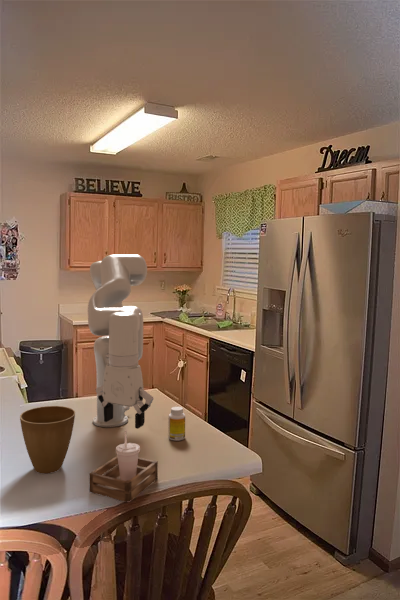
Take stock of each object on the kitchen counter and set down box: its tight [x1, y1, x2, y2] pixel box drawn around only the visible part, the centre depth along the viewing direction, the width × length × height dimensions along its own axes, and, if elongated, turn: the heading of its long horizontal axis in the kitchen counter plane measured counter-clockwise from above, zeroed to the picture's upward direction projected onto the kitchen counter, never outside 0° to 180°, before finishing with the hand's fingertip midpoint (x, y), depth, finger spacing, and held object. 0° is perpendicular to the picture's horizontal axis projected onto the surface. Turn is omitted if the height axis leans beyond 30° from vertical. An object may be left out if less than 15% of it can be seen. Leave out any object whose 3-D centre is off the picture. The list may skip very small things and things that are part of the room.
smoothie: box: [115, 430, 141, 481], centre depth 126 cm, size 6×6×14 cm
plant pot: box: [19, 405, 76, 474], centre depth 136 cm, size 15×15×16 cm
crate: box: [88, 455, 159, 503], centre depth 126 cm, size 14×12×5 cm
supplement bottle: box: [167, 406, 186, 442], centre depth 159 cm, size 6×6×10 cm
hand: (123, 423), depth 126 cm, fingers open, 9 cm apart
